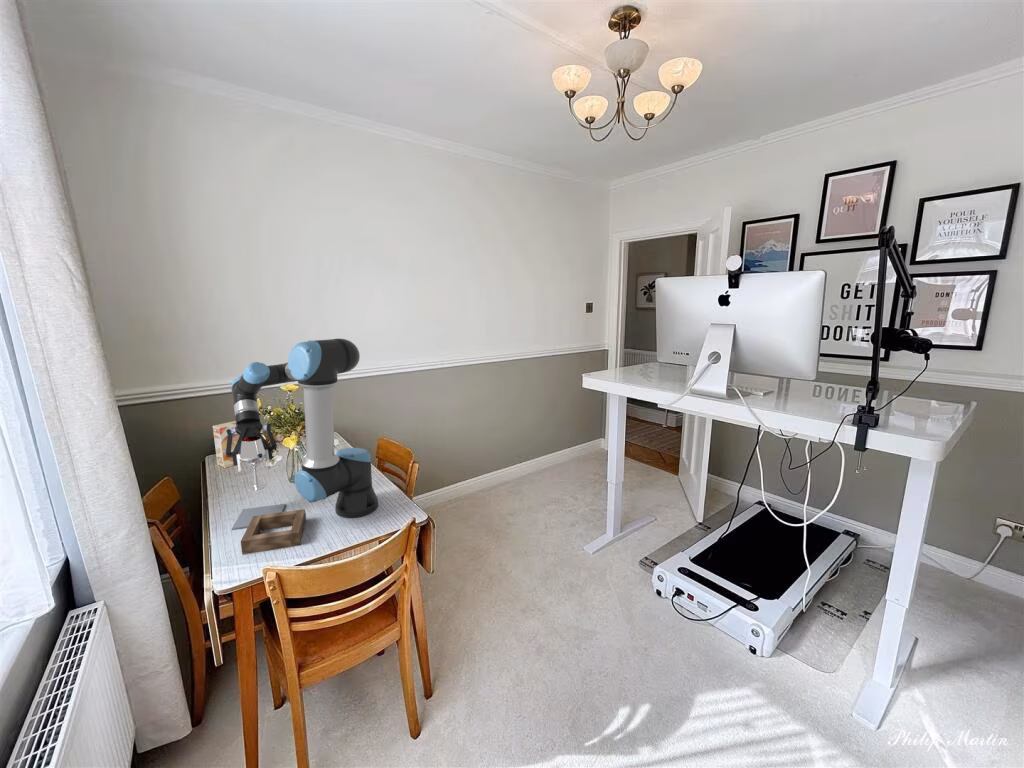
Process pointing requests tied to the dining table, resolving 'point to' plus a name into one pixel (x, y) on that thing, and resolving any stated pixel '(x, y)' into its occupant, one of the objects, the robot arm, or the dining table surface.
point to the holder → (274, 540)
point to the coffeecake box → (224, 443)
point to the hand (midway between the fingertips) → (254, 470)
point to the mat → (255, 514)
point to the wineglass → (253, 457)
